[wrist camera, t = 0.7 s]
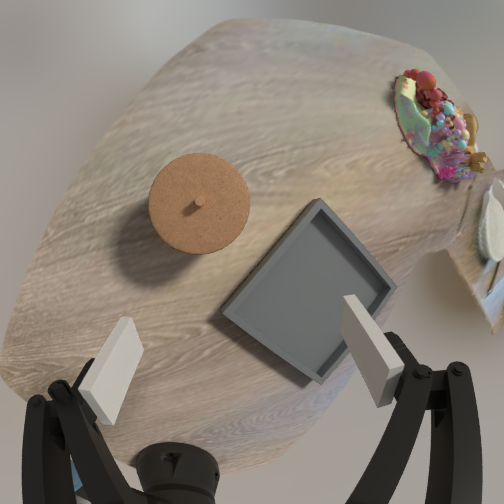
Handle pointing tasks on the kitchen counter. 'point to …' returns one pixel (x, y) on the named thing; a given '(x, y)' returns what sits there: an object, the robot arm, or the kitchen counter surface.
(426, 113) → the candy landscape model
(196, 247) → the lidded jar
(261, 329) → the tray
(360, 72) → the kitchen counter surface
